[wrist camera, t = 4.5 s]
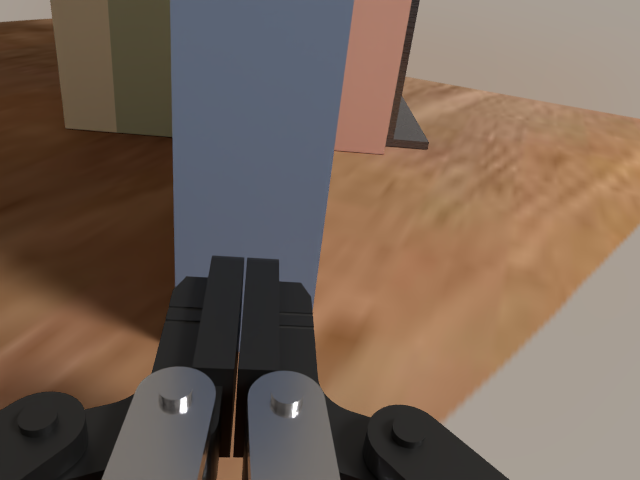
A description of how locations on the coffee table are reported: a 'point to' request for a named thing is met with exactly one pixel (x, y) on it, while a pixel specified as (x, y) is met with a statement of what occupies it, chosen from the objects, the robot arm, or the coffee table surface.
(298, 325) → the robot arm
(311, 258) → the blue book
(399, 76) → the bookend
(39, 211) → the coffee table surface
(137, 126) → the book rack
